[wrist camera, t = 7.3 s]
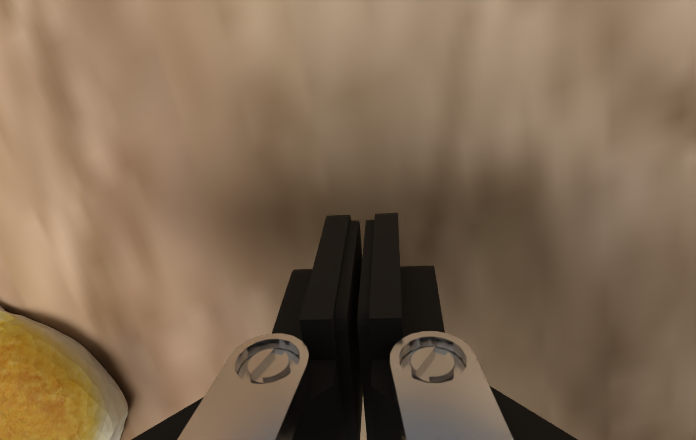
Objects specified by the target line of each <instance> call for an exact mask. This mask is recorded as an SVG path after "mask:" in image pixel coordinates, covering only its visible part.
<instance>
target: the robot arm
mask: <svg viewBox="0 0 696 440" xmlns="http://www.w3.org/2000/svg"><path fill="white" fill-rule="evenodd" d="M362 398H364V409H365V421H366V432H367V440H577V439H576V438H574V437H572V436H571V435H569V434H567V433H566V432H564V431H563V430H561V429H559V428H558V427H556V426H554V425H553V424H551V423H549V422H548V421H546V420H545V419H543V418H541V417H540V416H538V415H536V414H535V413H533V412H532V411H530V410H528V409H527V408H525V407H523V406H522V405H520V404H518V403H517V402H515V401H514V400H512V399H510V398H509V397H507V396H505V395H504V394H502V393H500V392H499V391H497V390H496V389H494V388H492V387H491V386H489V384H488V382H487V380H486V378H485V376H484V373H483V371H482V369H481V367H480V365H479V362H478V360H477V358H476V356H475V354H474V352H473V351H472V349H471V348H470V347H469V345H468V344H466V343H465V342H464V341H462V340H461V339H460V338H458V337H455V336H453V335H450V334H448V333H445V331H444V325H443V319H442V313H441V306H440V300H439V294H438V288H437V281H436V275H435V269H434V266H405V267H400V254H399V229H398V213H386V214H375V220H366V225H365V236H364V247H363V258H362V247H361V234H360V223H359V221H351V217H350V215H335V216H327V217H326V220H325V224H324V228H323V232H322V236H321V239H320V243H319V247H318V251H317V255H316V258H315V262H314V266H313V269H299V270H293V272H292V274H291V277H290V280H289V283H288V286H287V289H286V292H285V295H284V298H283V301H282V304H281V307H280V310H279V313H278V316H277V319H276V322H275V325H274V328H273V331H272V334H266V335H261V336H257V337H255V338H253V339H250V340H248V341H246V342H245V343H243V344H242V345H240V346H239V347H238V348H236V350H235V351H234V352H233V353H232V354H231V355H230V357H229V358H228V360H227V362H226V363H225V365H224V366H223V368H222V369H221V371H220V373H219V374H218V376H217V377H216V379H215V381H214V382H213V384H212V385H211V387H210V388H209V390H208V392H207V393H206V395H205V396H204V397H203V398H201V399H200V400H198V401H196V402H195V403H193V404H191V405H190V406H188V407H186V408H184V409H183V410H181V411H179V412H178V413H176V414H174V415H173V416H171V417H169V418H167V419H166V420H164V421H162V422H161V423H159V424H157V425H156V426H154V427H152V428H150V429H149V430H147V431H145V432H144V433H142V434H140V435H139V436H137V437H135V438H133V439H132V440H360V431H361V414H362Z"/></svg>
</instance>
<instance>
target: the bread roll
mask: <svg viewBox="0 0 696 440" xmlns="http://www.w3.org/2000/svg"><path fill="white" fill-rule="evenodd" d="M127 415H128V405H127V402H126V400H125V397H124V395H123V393H122V391H121V390H120V388H119V386H118V385H117V383H116V382H115V381H114V380H113V378H112V377H111V376H110V375H109V373H108V372H107V371H106V370H105V369H104V367H103V366H102V365H101V364H100V363H99V362H98V361H97V360H96V359H95V358H94V357H93V356H92V355H91V354H90V352H89V351H88V350H87V349H85V348H84V347H83V346H82V345H81V344H80V343H78V342H77V341H75V340H74V339H72V338H70V337H69V336H67V335H65V334H63V333H61V332H59V331H57V330H55V329H53V328H51V327H49V326H47V325H45V324H42V323H39V322H36V321H33V320H31V319H29V318H26V317H24V316H22V315H16V314H11V313H9V312H7V311H5V310H4V309H3V308H2V307H1V306H0V440H120V438H121V434H122V431H123V429H124V424H125V419H126V417H127Z"/></svg>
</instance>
